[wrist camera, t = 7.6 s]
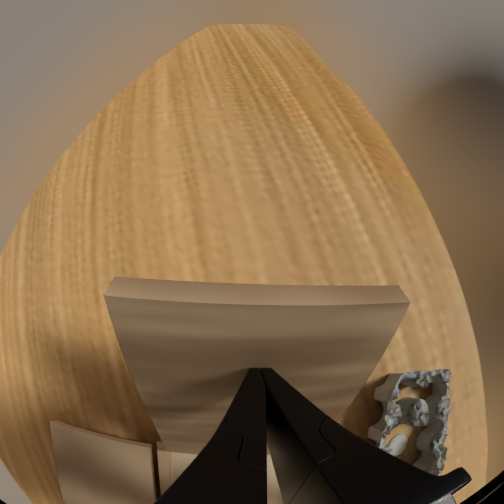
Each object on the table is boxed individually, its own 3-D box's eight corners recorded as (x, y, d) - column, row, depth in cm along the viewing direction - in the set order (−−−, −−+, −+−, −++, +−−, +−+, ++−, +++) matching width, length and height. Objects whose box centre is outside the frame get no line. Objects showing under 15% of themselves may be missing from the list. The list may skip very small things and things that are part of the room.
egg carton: (414, 473, 15) (440, 483, 12) (347, 483, 15) (369, 501, 11) (437, 370, 19) (467, 367, 16) (374, 367, 19) (403, 367, 15)
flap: (321, 441, 14) (410, 301, 8) (163, 442, 13) (103, 295, 7) (318, 427, 15) (396, 282, 9) (164, 427, 14) (115, 274, 8)
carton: (308, 527, 13) (317, 540, 11) (79, 506, 11) (68, 516, 9) (315, 432, 17) (327, 440, 14) (65, 411, 15) (49, 414, 13)
